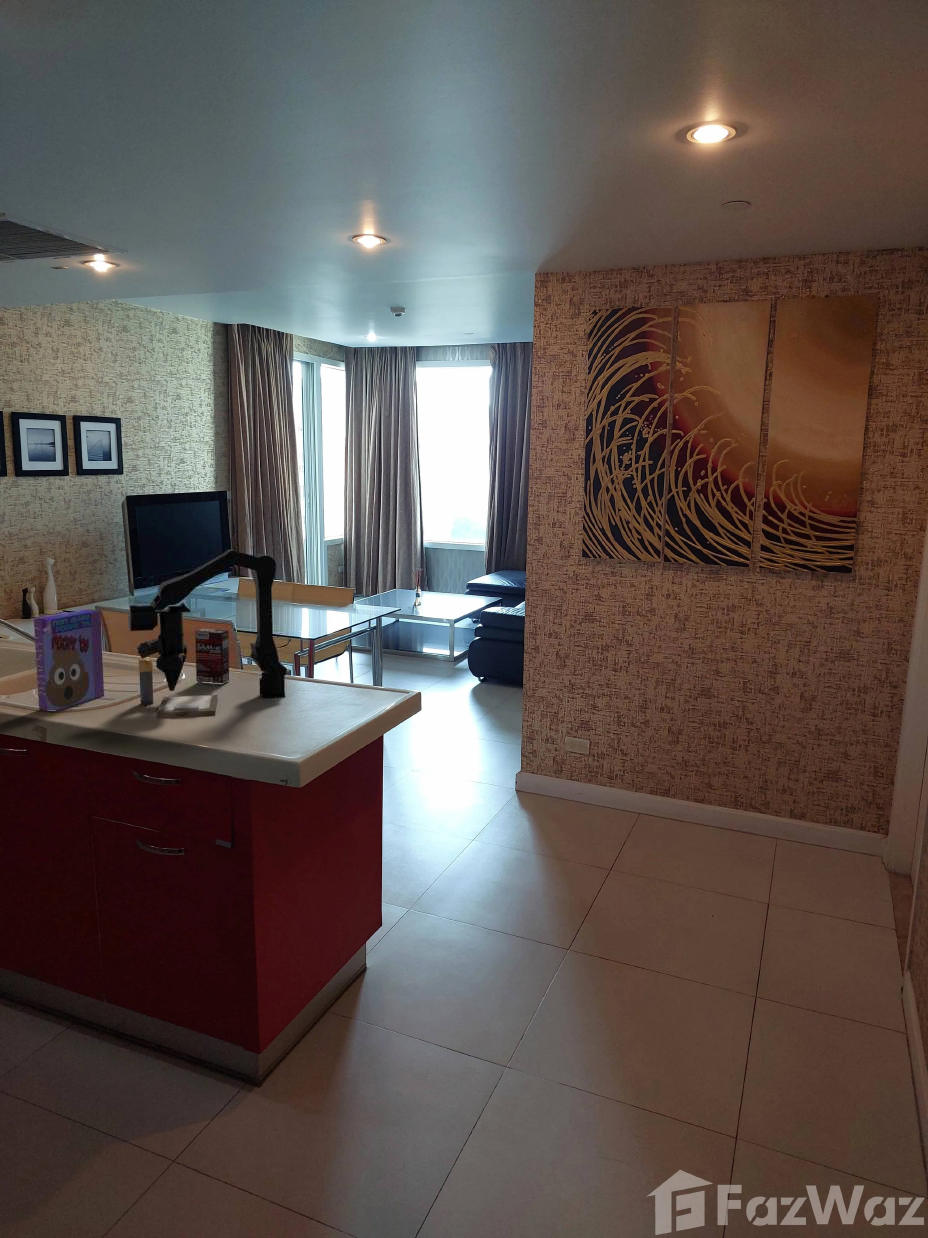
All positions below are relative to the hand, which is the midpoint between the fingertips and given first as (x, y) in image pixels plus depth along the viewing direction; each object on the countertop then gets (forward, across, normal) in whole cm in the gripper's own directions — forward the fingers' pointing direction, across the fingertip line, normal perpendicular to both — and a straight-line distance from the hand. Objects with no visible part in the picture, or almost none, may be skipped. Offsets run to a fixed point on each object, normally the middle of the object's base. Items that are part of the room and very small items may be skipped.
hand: (173, 686), depth 214 cm
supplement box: (+5, -23, +9) cm, 25 cm away
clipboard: (+5, +4, +4) cm, 7 cm away
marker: (+5, -2, -7) cm, 9 cm away
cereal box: (+5, -6, -26) cm, 27 cm away
